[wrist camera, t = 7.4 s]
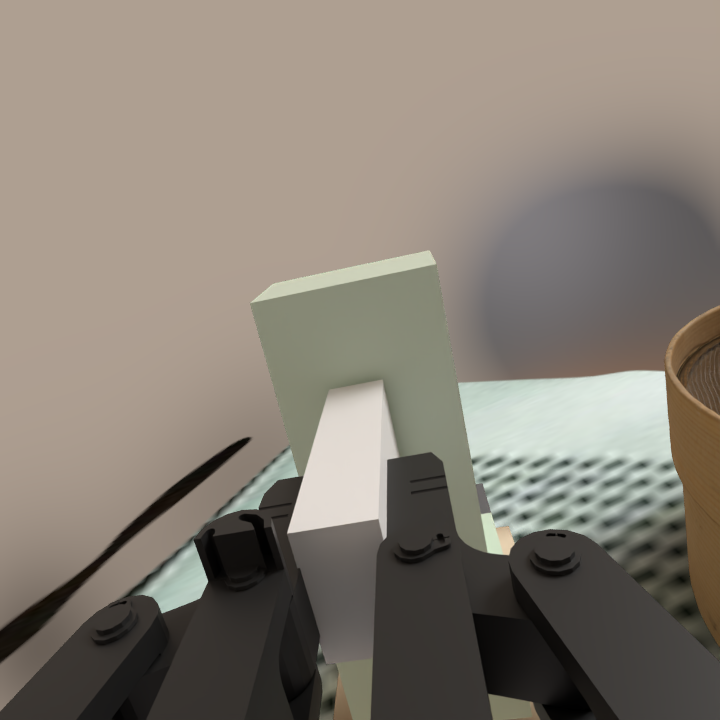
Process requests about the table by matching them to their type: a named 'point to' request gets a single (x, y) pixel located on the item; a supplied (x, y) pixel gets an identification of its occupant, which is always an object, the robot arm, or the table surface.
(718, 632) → the steamer basket
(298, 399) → the pale green upright panel
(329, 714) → the table surface
